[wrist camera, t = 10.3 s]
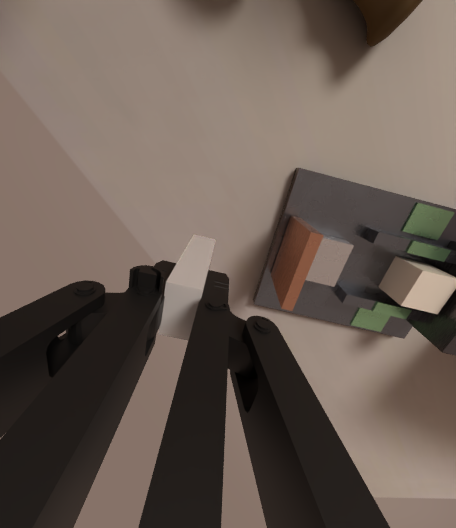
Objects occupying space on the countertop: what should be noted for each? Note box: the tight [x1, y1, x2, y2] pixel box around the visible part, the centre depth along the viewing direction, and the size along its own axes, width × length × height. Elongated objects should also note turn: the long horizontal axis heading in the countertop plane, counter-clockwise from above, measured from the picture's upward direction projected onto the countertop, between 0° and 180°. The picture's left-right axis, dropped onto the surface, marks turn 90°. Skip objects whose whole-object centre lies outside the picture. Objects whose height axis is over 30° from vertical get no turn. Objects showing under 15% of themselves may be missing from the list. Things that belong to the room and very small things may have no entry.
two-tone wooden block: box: [271, 215, 354, 311], centre depth 22 cm, size 6×7×7 cm
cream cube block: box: [379, 256, 456, 314], centre depth 24 cm, size 4×4×4 cm
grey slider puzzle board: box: [253, 168, 456, 355], centre depth 23 cm, size 20×16×7 cm
